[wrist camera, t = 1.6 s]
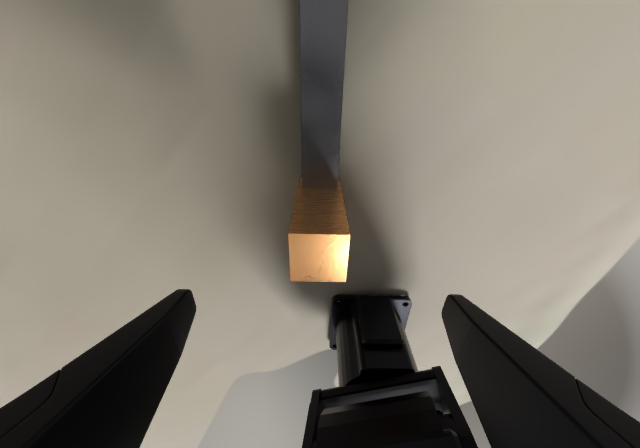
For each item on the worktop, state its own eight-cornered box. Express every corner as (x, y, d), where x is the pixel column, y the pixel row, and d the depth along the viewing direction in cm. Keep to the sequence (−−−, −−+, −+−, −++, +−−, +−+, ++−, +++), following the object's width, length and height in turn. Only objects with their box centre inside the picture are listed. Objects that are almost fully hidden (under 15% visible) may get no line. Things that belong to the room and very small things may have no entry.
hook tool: (406, 213, 18) (450, 284, 12) (300, 211, 18) (290, 281, 12) (480, -147, 10) (726, -493, 4) (294, -152, 10) (254, -511, 4)
